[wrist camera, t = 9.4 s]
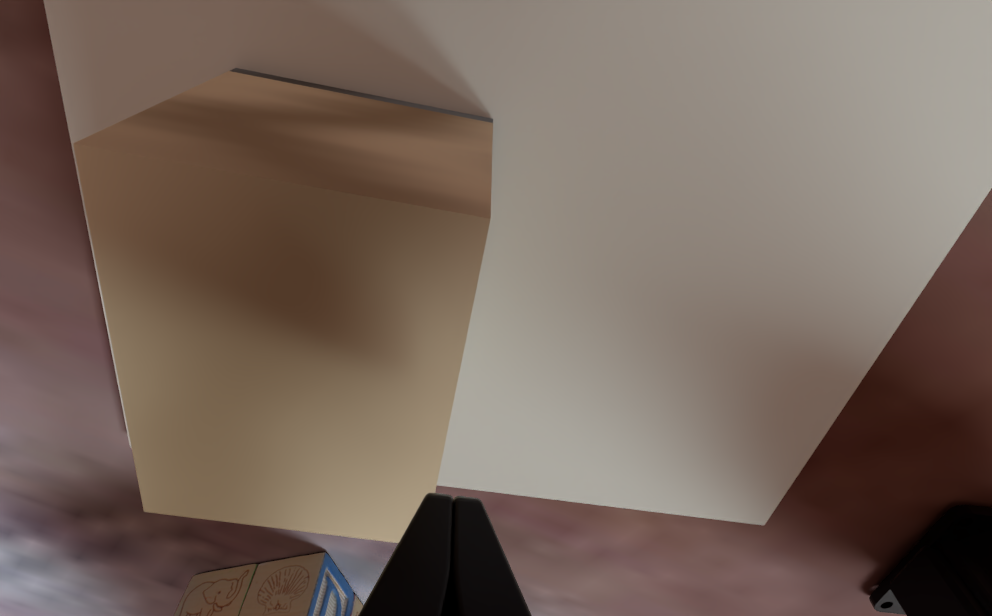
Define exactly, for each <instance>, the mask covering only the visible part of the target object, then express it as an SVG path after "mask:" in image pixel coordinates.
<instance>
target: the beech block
mask: <svg viewBox="0 0 992 616" xmlns="http://www.w3.org/2000/svg"><path fill="white" fill-rule="evenodd" d="M73 145H74V151H75V156H76V161H77V166H78V171H79V177H80V182H81V187H82V192H83V197H84V203H85V208H86V213H87V218H88V224H89V229H90V234H91V239H92V244H93V250H94V255H95V260H96V265H97V270H98V276H99V281H100V286H101V291H102V296H103V302H104V307H105V312H106V317H107V322H108V328H109V333H110V338H111V343H112V348H113V354H114V359H115V364H116V369H117V374H118V380H119V385H120V390H121V395H122V400H123V406H124V411H125V416H126V421H127V426H128V432H129V437H130V442H131V447H132V452H133V458H134V463H135V468H136V473H137V478H138V484H139V489H140V494H141V499H142V504H143V510H144V512H149V513H157V514H165V515H174V516H182V517H190V518H198V519H206V520H214V521H222V522H231V523H239V524H247V525H255V526H263V527H271V528H279V529H288V530H296V531H304V532H312V533H320V534H328V535H337V536H345V537H353V538H361V539H369V540H377V541H385V542H394V543H399V542H400V540H401V538H402V536H403V534H404V533H405V531H406V529H407V527H408V525H409V524H410V522H411V520H412V518H413V516H414V515H415V513H416V511H417V509H418V508H419V506H420V504H421V502H422V500H423V499H424V497H425V495H426V494H428V493H435V490H436V486H437V481H438V476H439V471H440V466H441V461H442V456H443V451H444V446H445V441H446V436H447V431H448V426H449V421H450V417H451V412H452V407H453V402H454V397H455V392H456V387H457V382H458V377H459V372H460V367H461V362H462V357H463V353H464V348H465V343H466V338H467V333H468V328H469V323H470V318H471V313H472V308H473V303H474V298H475V293H476V288H477V284H478V279H479V274H480V269H481V264H482V259H483V254H484V249H485V244H486V239H487V234H488V229H489V224H490V219H491V185H492V145H493V119H492V118H487V117H482V116H477V115H472V114H466V113H461V112H456V111H451V110H446V109H441V108H436V107H431V106H426V105H421V104H416V103H411V102H406V101H401V100H396V99H391V98H386V97H381V96H376V95H371V94H366V93H360V92H355V91H350V90H345V89H340V88H335V87H330V86H325V85H320V84H315V83H310V82H305V81H300V80H295V79H290V78H285V77H280V76H275V75H270V74H265V73H260V72H254V71H249V70H244V69H239V68H234V69H232V70H230V71H228V72H226V73H223V74H221V75H219V76H217V77H215V78H213V79H210V80H208V81H206V82H204V83H202V84H200V85H198V86H195V87H193V88H191V89H189V90H187V91H185V92H183V93H180V94H178V95H176V96H174V97H172V98H170V99H167V100H165V101H163V102H161V103H159V104H157V105H155V106H152V107H150V108H148V109H146V110H144V111H142V112H139V113H137V114H135V115H133V116H131V117H129V118H127V119H124V120H122V121H120V122H118V123H116V124H114V125H112V126H109V127H107V128H105V129H103V130H101V131H99V132H96V133H94V134H92V135H90V136H88V137H86V138H84V139H81V140H79V141H77V142H75V143H73Z"/></svg>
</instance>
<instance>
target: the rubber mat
mask: <svg viewBox="0 0 992 616" xmlns="http://www.w3.org/2000/svg"><path fill="white" fill-rule="evenodd" d="M43 1H44V6H45V11H46V16H47V21H48V26H49V32H50V37H51V42H52V47H53V52H54V57H55V63H56V68H57V73H58V78H59V83H60V88H61V94H62V99H63V104H64V109H65V114H66V119H67V125H68V130H69V135H70V140H71V145H72V150H73V155H74V161H75V166H76V171H77V176H78V181H79V186H80V192H81V197H82V202H83V207H84V212H85V217H86V223H87V228H88V233H89V238H90V243H91V248H92V254H93V259H94V264H95V269H96V274H97V279H98V284H99V290H100V295H101V300H102V305H103V310H104V315H105V321H106V326H107V331H108V336H109V341H110V346H111V352H112V357H113V362H114V367H115V372H116V377H117V383H118V388H119V393H120V398H121V403H122V408H123V414H124V419H125V424H126V429H127V434H128V439H129V444H130V447H131V442H130V437H129V432H128V426H127V421H126V416H125V411H124V406H123V400H122V395H121V390H120V385H119V380H118V374H117V369H116V364H115V359H114V354H113V348H112V343H111V338H110V333H109V328H108V322H107V317H106V312H105V307H104V302H103V296H102V291H101V286H100V281H99V276H98V270H97V265H96V260H95V255H94V250H93V244H92V239H91V234H90V229H89V224H88V218H87V213H86V208H85V203H84V197H83V192H82V187H81V182H80V177H79V171H78V166H77V161H76V156H75V151H74V145H73V143H75V142H77V141H79V140H81V139H84V138H86V137H88V136H90V135H92V134H94V133H96V132H99V131H101V130H103V129H105V128H107V127H109V126H112V125H114V124H116V123H118V122H120V121H122V120H124V119H127V118H129V117H131V116H133V115H135V114H137V113H139V112H142V111H144V110H146V109H148V108H150V107H152V106H155V105H157V104H159V103H161V102H163V101H165V100H167V99H170V98H172V97H174V96H176V95H178V94H180V93H183V92H185V91H187V90H189V89H191V88H193V87H195V86H198V85H200V84H202V83H204V82H206V81H208V80H210V79H213V78H215V77H217V76H219V75H221V74H223V73H226V72H228V71H230V70H232V69H234V68H239V69H244V70H249V71H254V72H260V73H265V74H270V75H275V76H280V77H285V78H290V79H295V80H300V81H305V82H310V83H315V84H320V85H325V86H330V87H335V88H340V89H345V90H350V91H355V92H360V93H366V94H371V95H376V96H381V97H386V98H391V99H396V100H401V101H406V102H411V103H416V104H421V105H426V106H431V107H436V108H441V109H446V110H451V111H456V112H461V113H466V114H472V115H477V116H482V117H487V118H492V119H493V145H492V185H491V219H490V224H489V229H488V234H487V239H486V244H485V249H484V254H483V259H482V264H481V269H480V274H479V279H478V284H477V288H476V293H475V298H474V303H473V308H472V313H471V318H470V323H469V328H468V333H467V338H466V343H465V348H464V353H463V357H462V362H461V367H460V372H459V377H458V382H457V387H456V392H455V397H454V402H453V407H452V412H451V417H450V421H449V426H448V431H447V436H446V441H445V446H444V451H443V456H442V461H441V466H440V471H439V476H438V481H437V485H440V486H448V487H456V488H464V489H472V490H481V491H489V492H497V493H505V494H513V495H521V496H529V497H537V498H545V499H554V500H562V501H570V502H578V503H586V504H594V505H602V506H610V507H619V508H627V509H635V510H643V511H651V512H659V513H667V514H675V515H683V516H692V517H700V518H708V519H716V520H724V521H732V522H740V523H748V524H757V525H765V523H766V522H767V521H768V519H769V518H770V516H771V515H772V513H773V512H774V510H775V509H776V507H777V506H778V504H779V503H780V501H781V500H782V498H783V497H784V495H785V494H786V492H787V491H788V489H789V488H790V486H791V485H792V483H793V482H794V480H795V479H796V478H797V476H798V475H799V473H800V472H801V470H802V469H803V467H804V466H805V464H806V463H807V461H808V460H809V458H810V457H811V455H812V454H813V452H814V451H815V449H816V448H817V446H818V445H819V443H820V442H821V440H822V439H823V437H824V436H825V434H826V433H827V432H828V430H829V429H830V427H831V426H832V424H833V423H834V421H835V420H836V418H837V417H838V415H839V414H840V412H841V411H842V409H843V408H844V406H845V405H846V403H847V402H848V400H849V399H850V397H851V396H852V394H853V393H854V391H855V390H856V389H857V387H858V386H859V384H860V383H861V381H862V380H863V378H864V377H865V375H866V374H867V372H868V371H869V369H870V368H871V366H872V365H873V363H874V362H875V360H876V359H877V357H878V356H879V354H880V353H881V351H882V350H883V348H884V347H885V345H886V344H887V343H888V341H889V340H890V338H891V337H892V335H893V334H894V332H895V331H896V329H897V328H898V326H899V325H900V323H901V322H902V320H903V319H904V317H905V316H906V314H907V313H908V311H909V310H910V308H911V307H912V305H913V304H914V302H915V301H916V300H917V298H918V297H919V295H920V294H921V292H922V291H923V289H924V288H925V286H926V285H927V283H928V282H929V280H930V279H931V277H932V276H933V274H934V273H935V271H936V270H937V268H938V267H939V265H940V264H941V262H942V261H943V259H944V258H945V256H946V255H947V254H948V252H949V251H950V249H951V248H952V246H953V245H954V243H955V242H956V240H957V239H958V237H959V236H960V234H961V233H962V231H963V230H964V228H965V227H966V225H967V224H968V222H969V221H970V219H971V218H972V216H973V215H974V213H975V212H976V211H977V209H978V208H979V206H980V205H981V203H982V202H983V200H984V199H985V197H986V196H987V194H988V193H989V191H990V190H991V188H992V0H43ZM131 448H132V447H131Z"/></svg>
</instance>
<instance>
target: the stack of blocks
mask: <svg viewBox="0 0 992 616" xmlns="http://www.w3.org/2000/svg"><path fill="white" fill-rule="evenodd" d="M362 608H363V605H362V604H361V602H360V601H359V599H358V598H357V596H356V595H354V593H353V591H352V589H351V587H350V586H349V584H348V583H347V582H346V580H345V578H344V577H343V575H342V574H341V573H340V571H339V570H338V568H337V567H336V565H335V564H334V563H333V561H332V559H331V558H330V556H329V555H328V554H327V553H326V552H325V553H317V554H312V555H306V556H299V557H293V558H288V559H282V560H277V561H271V562H265V563H262V564H259V565H258V564H250V565H245V566H240V567H234V568H229V569H223V570H217V571H212V572H207V573H202V574H198V575H194V576H193V577H192V578H191V580H190V582H189V584H188V586H187V588H186V590H185V592H184V594H183V597H182V599H181V601H180V603H179V605H178V607H177V609H176V611H175V613H174V616H358V615H359V613H360V611H361V610H362Z"/></svg>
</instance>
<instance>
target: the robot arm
mask: <svg viewBox="0 0 992 616" xmlns="http://www.w3.org/2000/svg"><path fill="white" fill-rule="evenodd" d="M869 599H870V602H871V603H872V605H873V607H874V609H875V610H876V611H879V612H887V613H896V614H905V615H907V616H992V508H986V507H978V506H971V505H959V506H955V507H953V508H951V509H950V510H949V511H947V512H946V513H945V514H944V516H943V517H942V518H941V519H940V520H939V521H938V522H937V523H936V524H935V525H934V526H933V528H932V529H931V530H930V531H929V532H928V533H927V534H926V535H925V536H924V537H923V539H922V540H921V541H920V542H919V543H918V544H917V545H916V546H915V547H914V548H913V549H912V551H911V552H910V553H909V554H908V555H907V556H906V557H905V558H904V559H903V560H902V562H901V563H900V564H899V565H898V566H897V567H896V568H895V569H894V570H893V571H892V572H891V574H890V575H889V576H888V577H887V578H886V579H885V580H884V581H883V582H882V583H881V585H880V586H879V587H878V588H877V589H876V590H875V591H874V592H873V593H872V594H871V596H870V597H869ZM358 616H531V613H530V611H529V609H528V607H527V604H526V602H525V600H524V597H523V595H522V593H521V590H520V588H519V586H518V584H517V581H516V579H515V577H514V574H513V572H512V570H511V567H510V565H509V563H508V561H507V558H506V556H505V554H504V551H503V549H502V547H501V544H500V542H499V540H498V538H497V535H496V533H495V531H494V528H493V526H492V524H491V521H490V519H489V517H488V515H487V512H486V510H485V508H484V505H483V503H482V502H481V500H479V499H478V498H472V497H464V496H456V497H455V498H454V499H453V498H452V496H451V495H447V494H439V493H428V494H426V495H425V497H424V499H423V500H422V502H421V504H420V506H419V508H418V509H417V511H416V513H415V515H414V516H413V518H412V520H411V522H410V524H409V525H408V527H407V529H406V531H405V533H404V534H403V536H402V538H401V540H400V542H399V543H398V545H397V547H396V549H395V551H394V552H393V554H392V556H391V558H390V559H389V561H388V563H387V565H386V567H385V568H384V570H383V572H382V574H381V576H380V577H379V579H378V581H377V583H376V585H375V586H374V588H373V590H372V592H371V594H370V595H369V597H368V599H367V601H366V602H365V604H364V606H363V608H362V610H361V611H360V613H359V615H358Z"/></svg>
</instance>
